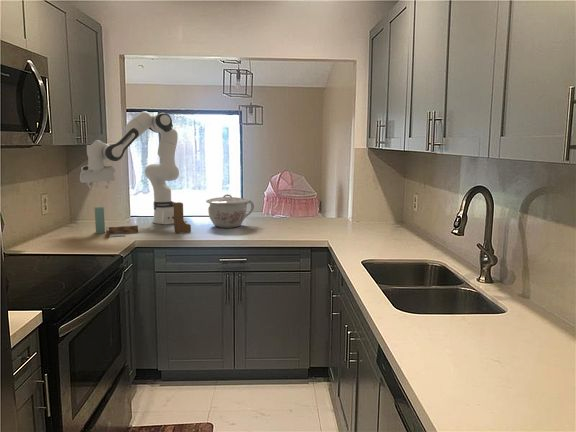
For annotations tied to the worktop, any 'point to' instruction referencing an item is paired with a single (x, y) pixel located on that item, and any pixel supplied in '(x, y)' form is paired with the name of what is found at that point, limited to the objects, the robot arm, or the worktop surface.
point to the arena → (121, 230)
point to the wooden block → (180, 219)
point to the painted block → (99, 220)
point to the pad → (117, 235)
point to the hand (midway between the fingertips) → (98, 189)
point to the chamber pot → (228, 211)
